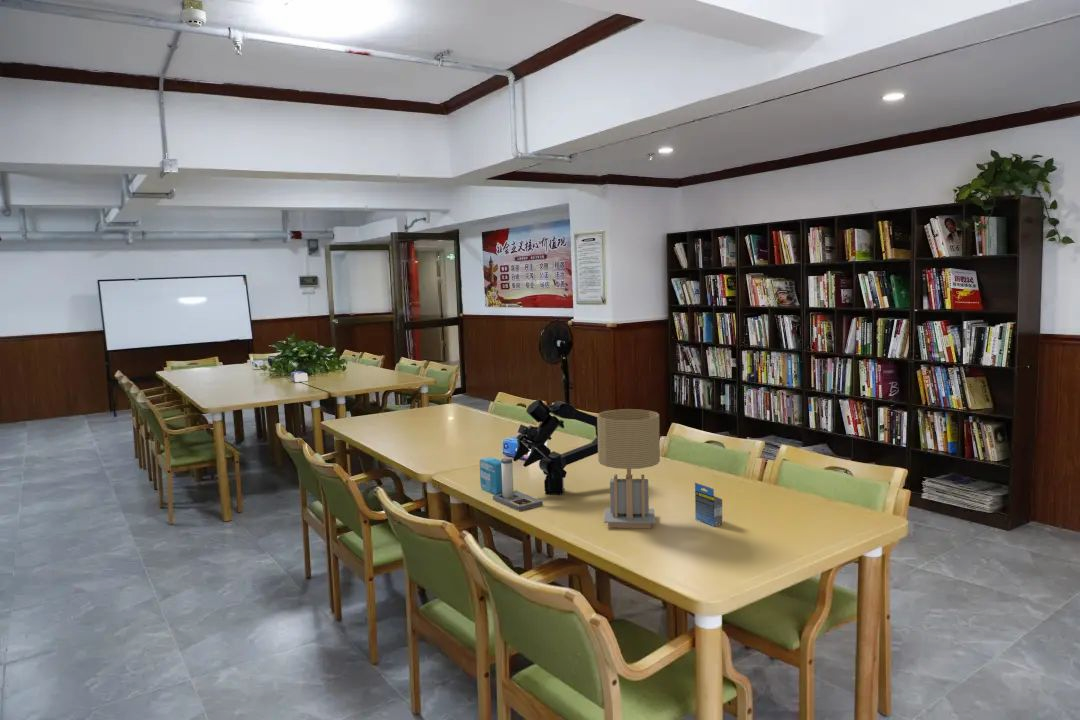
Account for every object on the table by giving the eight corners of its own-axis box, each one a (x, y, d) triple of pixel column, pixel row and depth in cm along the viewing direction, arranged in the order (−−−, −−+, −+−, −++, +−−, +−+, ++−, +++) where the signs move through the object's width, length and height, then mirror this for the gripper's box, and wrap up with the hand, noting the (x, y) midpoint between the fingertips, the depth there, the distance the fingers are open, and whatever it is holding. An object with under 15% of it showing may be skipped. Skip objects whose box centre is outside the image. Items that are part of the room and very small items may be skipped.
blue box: (480, 488, 273) (479, 458, 272) (490, 486, 276) (489, 456, 275) (496, 495, 264) (495, 464, 262) (507, 493, 266) (505, 462, 265)
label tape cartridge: (723, 524, 225) (723, 486, 224) (713, 527, 224) (713, 488, 222) (703, 517, 233) (703, 480, 232) (694, 519, 231) (694, 482, 230)
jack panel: (515, 494, 264) (515, 490, 264) (542, 505, 251) (542, 500, 250) (493, 499, 259) (492, 495, 258) (519, 511, 245) (518, 506, 245)
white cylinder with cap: (514, 498, 259) (513, 458, 258) (512, 502, 255) (511, 461, 254) (504, 498, 260) (502, 458, 258) (501, 501, 256) (500, 460, 254)
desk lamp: (597, 532, 222) (595, 420, 218) (601, 511, 242) (598, 409, 238) (661, 533, 220) (660, 420, 216) (659, 512, 239) (658, 409, 235)
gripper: (520, 412, 267) (494, 445, 264) (541, 420, 250) (514, 455, 247) (540, 430, 271) (514, 463, 268) (562, 439, 255) (535, 474, 251)
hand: (518, 463), depth 258 cm, fingers open, 9 cm apart
